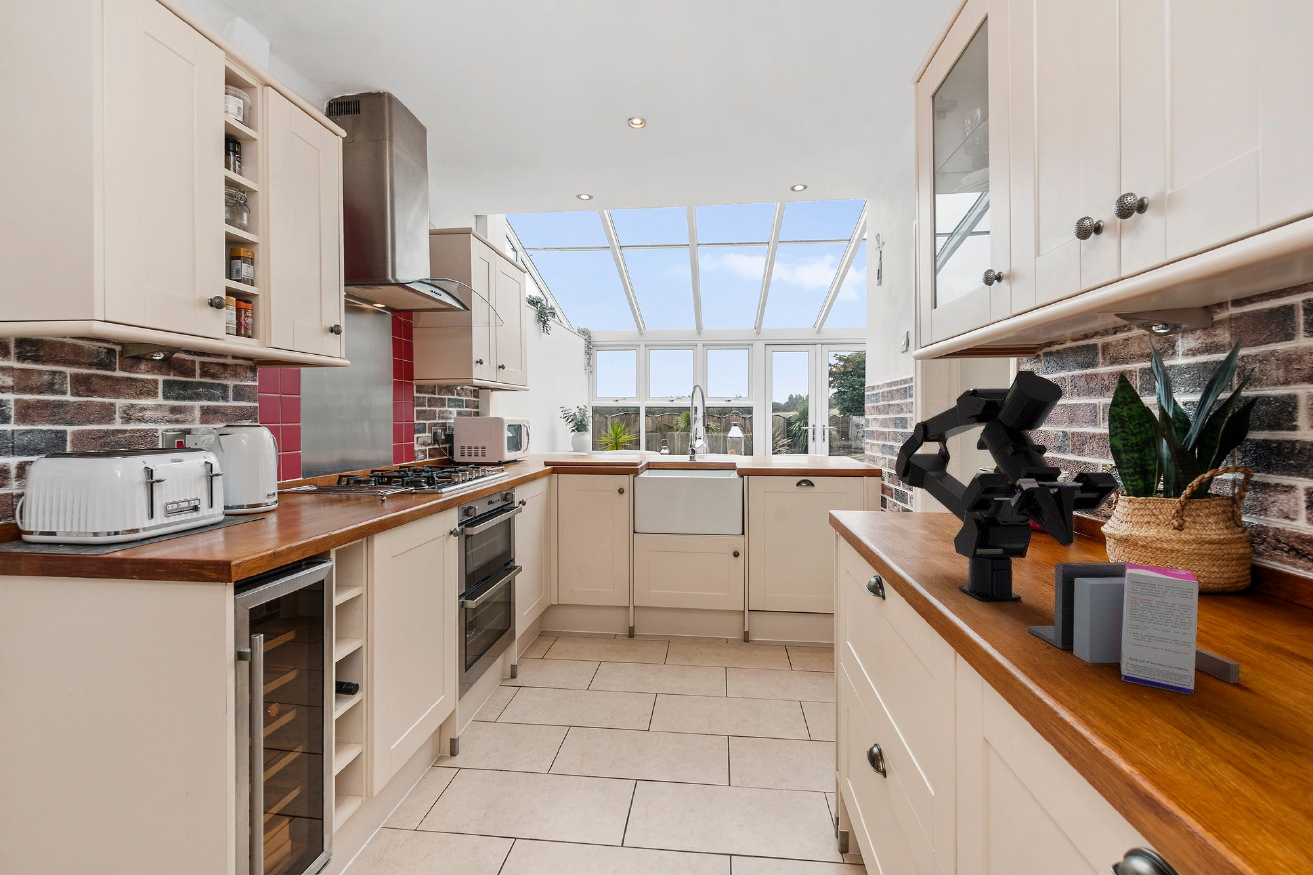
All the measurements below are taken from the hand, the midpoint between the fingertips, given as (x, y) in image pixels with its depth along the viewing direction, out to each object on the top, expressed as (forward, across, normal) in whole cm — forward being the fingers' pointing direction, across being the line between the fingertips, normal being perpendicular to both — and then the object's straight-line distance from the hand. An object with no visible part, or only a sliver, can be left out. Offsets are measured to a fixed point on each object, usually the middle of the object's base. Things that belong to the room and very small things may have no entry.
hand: (1068, 544), depth 76 cm
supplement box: (+18, 0, +1) cm, 18 cm away
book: (+14, 0, -3) cm, 14 cm away
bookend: (+9, 0, -7) cm, 12 cm away
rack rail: (+13, -7, -3) cm, 15 cm away
